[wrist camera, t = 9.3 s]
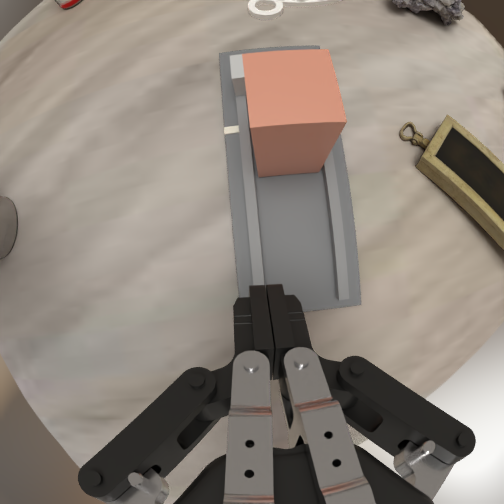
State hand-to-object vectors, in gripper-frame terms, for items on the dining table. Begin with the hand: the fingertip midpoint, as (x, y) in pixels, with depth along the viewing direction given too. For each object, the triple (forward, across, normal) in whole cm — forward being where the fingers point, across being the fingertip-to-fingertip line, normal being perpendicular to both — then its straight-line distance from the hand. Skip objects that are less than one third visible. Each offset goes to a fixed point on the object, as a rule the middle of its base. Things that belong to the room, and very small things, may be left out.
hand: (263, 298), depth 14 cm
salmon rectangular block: (+20, -4, -1) cm, 20 cm away
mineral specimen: (+35, -29, -23) cm, 51 cm away
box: (+17, -27, +1) cm, 32 cm away
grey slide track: (+20, -4, +1) cm, 20 cm away
